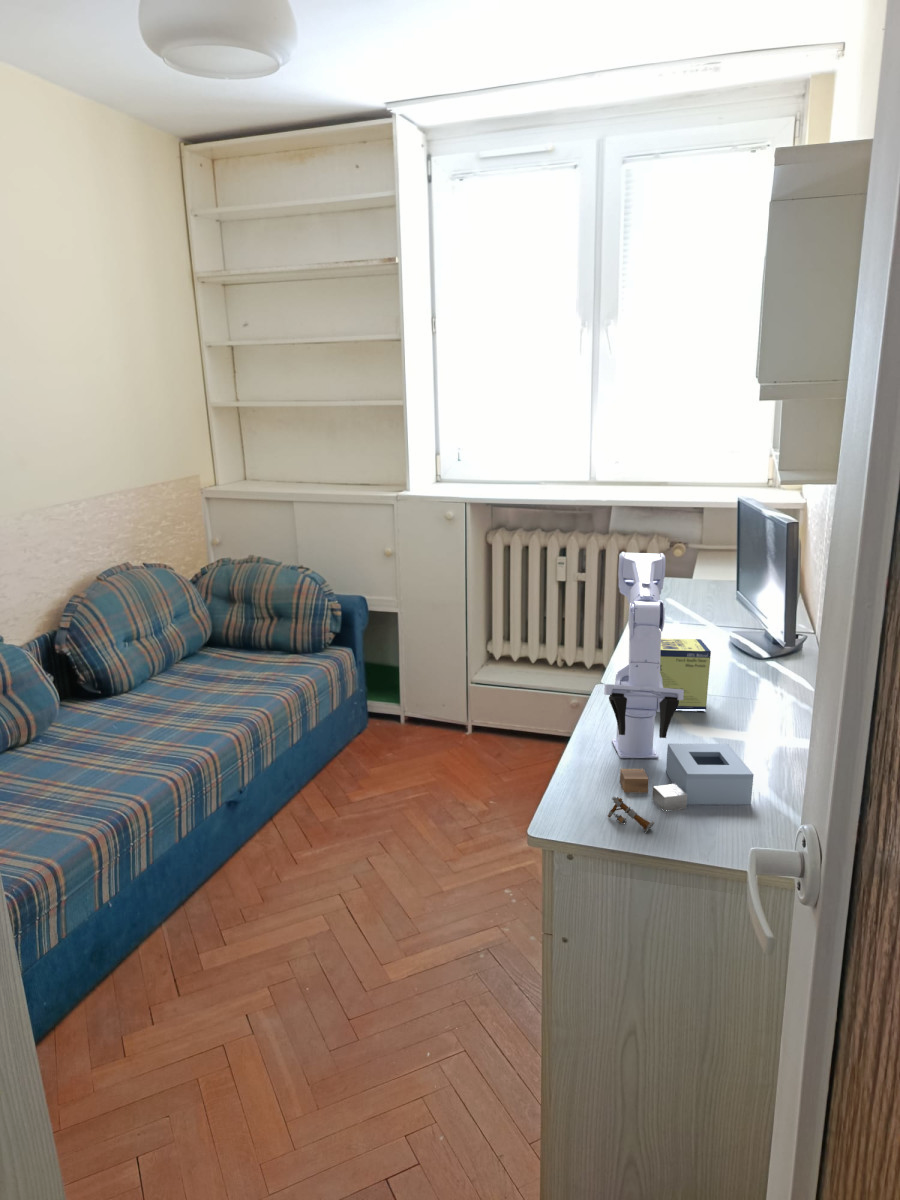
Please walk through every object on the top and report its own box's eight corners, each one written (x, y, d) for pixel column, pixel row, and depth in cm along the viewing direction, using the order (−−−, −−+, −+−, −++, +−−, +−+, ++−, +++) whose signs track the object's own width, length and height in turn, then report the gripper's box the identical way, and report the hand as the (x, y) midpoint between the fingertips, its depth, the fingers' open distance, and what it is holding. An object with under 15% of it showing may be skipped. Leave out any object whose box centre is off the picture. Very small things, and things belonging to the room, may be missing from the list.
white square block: (651, 801, 151) (652, 786, 151) (673, 798, 152) (674, 783, 152) (663, 812, 147) (664, 797, 146) (686, 809, 148) (687, 794, 147)
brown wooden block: (619, 782, 159) (620, 768, 158) (642, 783, 159) (643, 768, 158) (623, 793, 154) (624, 778, 154) (647, 793, 154) (648, 779, 154)
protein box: (707, 712, 196) (712, 650, 192) (641, 711, 197) (645, 649, 193) (697, 698, 206) (701, 638, 202) (634, 696, 207) (638, 637, 203)
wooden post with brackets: (606, 810, 146) (616, 792, 144) (643, 839, 142) (654, 821, 140) (601, 814, 144) (612, 795, 142) (639, 844, 141) (650, 825, 139)
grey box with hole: (665, 771, 163) (667, 743, 162) (725, 771, 163) (728, 743, 162) (685, 804, 150) (687, 774, 148) (750, 804, 150) (753, 774, 148)
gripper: (610, 659, 150) (608, 733, 148) (689, 665, 151) (687, 739, 148) (603, 662, 157) (600, 733, 155) (678, 667, 157) (676, 738, 155)
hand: (642, 736), depth 152 cm, fingers open, 7 cm apart
